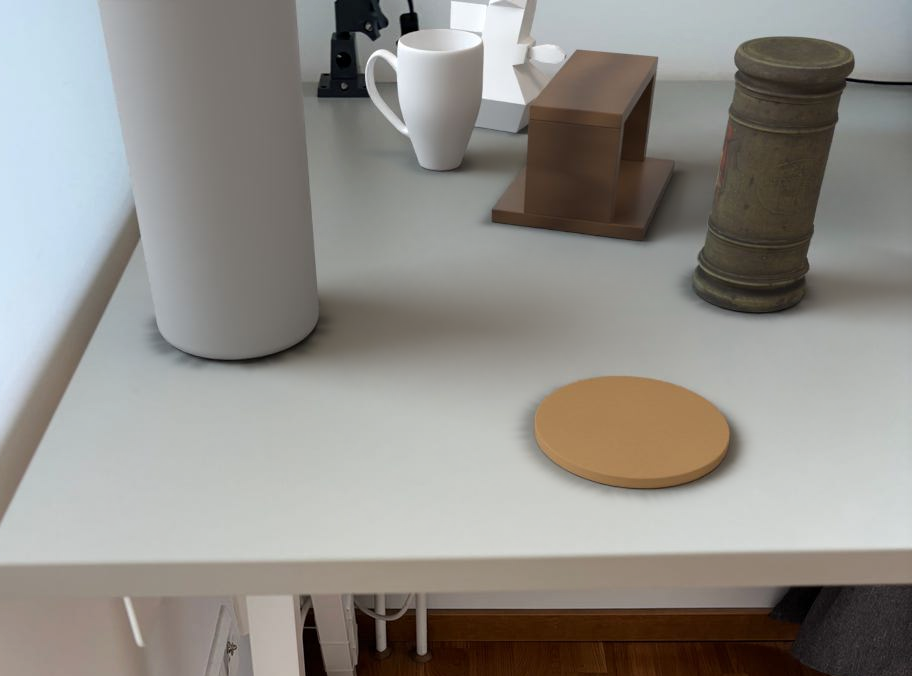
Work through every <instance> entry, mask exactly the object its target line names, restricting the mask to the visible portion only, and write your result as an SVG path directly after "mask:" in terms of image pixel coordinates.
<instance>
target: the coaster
mask: <svg viewBox="0 0 912 676" xmlns="http://www.w3.org/2000/svg"><path fill="white" fill-rule="evenodd" d="M533 431H534V437H535V441H536V442H537V445H538V446H539V448H540V449H541V451H542V452H543V453H544V454H545V455H546V456H547V457H548V459H550V460H551V461H552V462H553V463H555V464H556V465H557V466H559V467H561V468H562V469H564V470H565V471H568V472H569V473H572V474H573V475H575V476H578V477H581V478H583V479H585V480H588V481H591V482H596V483H599V484H603V485H608V486H613V487H619V488H628V489H629V488H630V489H659V488H667V487H674V486H678V485H683V484H687V483H690V482H692V481H695V480H697V479H698V480H699V479H700V478H701V477H703V476H706V475H707V474H709V473H710V472H712V471H713V470H714V469H716V468H717V467H718V465H720V464H721V462H722V461H723V460H724V458H725V457H726V454H727V451H728V449H729V445H730V437H731V433H730V426H729V423H728V421H727V419H726V417H725V416H724V414H723V413H722V412H721V411H720V410H719V409H718V407H717V406H716V405H714V404H713V403H712V402H711V401H709V400H708V399H707V398H705V397H704V396H702V395H700V394H698V393H696V392H695V391H692V390H690V389H688V388H686V387H683V386H680V385H679V384H674V383H671V382H669V381H664V380H661V379H656V378H651V377H642V376H634V375H633V376H632V375H609V376H608V375H607V376H606V375H605V376H597V377H590V378H586V379H581V380H577V381H573V382H571V383H569V384H565V385H564V386H561V387H560V388H558V389H555V390H554V391H552V392H551V393H550V394H549V395H547V396H546V397H545V398H544V399H543V400H542V401H541V402H540V404H539V406H538V407H537V410H536V412H535V415H534V427H533Z"/></svg>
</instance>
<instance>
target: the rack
mask: <svg viewBox="0 0 912 676" xmlns="http://www.w3.org/2000/svg"><path fill="white" fill-rule="evenodd" d="M658 64H659V56H657V55H656V56H655V55H644V54H634V53H623V52H611V51H600V50H599V51H598V50H590V49H578V48H577V49H575V51H574V52H573V53H572V55H570V57H568V59H567V60H566V61H565V62H564V64H563V65H562V66H561V67H560V68H559V70H558V71H557V72H556V73H555V74H554V76H552V78H551V79H550V82H549V83H548V84H547V85H546V86H545V88H544V89H543V90H542V91H541V92H540V94H539V95H538V96H537V97H536V98H535V100H534V101H533V102H532V103H531V104H530V110H529V124H528V129H527V130H528V131H527V143H526V144H527V147H526V161H525V165H523V167H522V168H521V170H519V172H518V173H517V175H516V176H515V178H514V179H513V180H512V182H511V183H510V184H509V185H508V187H507V189H506V190H505V191H504V192H503V194H502V195H501V196H500V198H499V199H498V200H497V202H496V203H495V204H494V206H493V207H492V209H491V222H492V223H498V224H499V223H501V224H509V225H515V226H523V227H531V228H540V229H546V230H554V231H561V232H569V233H578V234H584V235H585V234H586V235H594V236H600V237H608V238H614V239H615V238H617V239H623V240H631V241H639V242H642V241H643V239H644V237H645V235H646V232H647V230H648V228H649V226H650V225H651V222H652V220H653V217H654V216H655V213H656V210H657V209H658V207H659V205H660V202H661V201H662V199H663V196H664V194H665V192H666V190H667V188H668V185H669V183H670V181H671V179H672V177H673V174H674V172H675V166H676V160H675V159H669V158H658V157H649V156H647V150H648V144H649V143H648V142H649V134H650V126H651V121H652V120H651V119H652V110H653V104H654V95H655V88H656V81H657V73H658V71H657V70H658V66H659V65H658Z"/></svg>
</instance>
